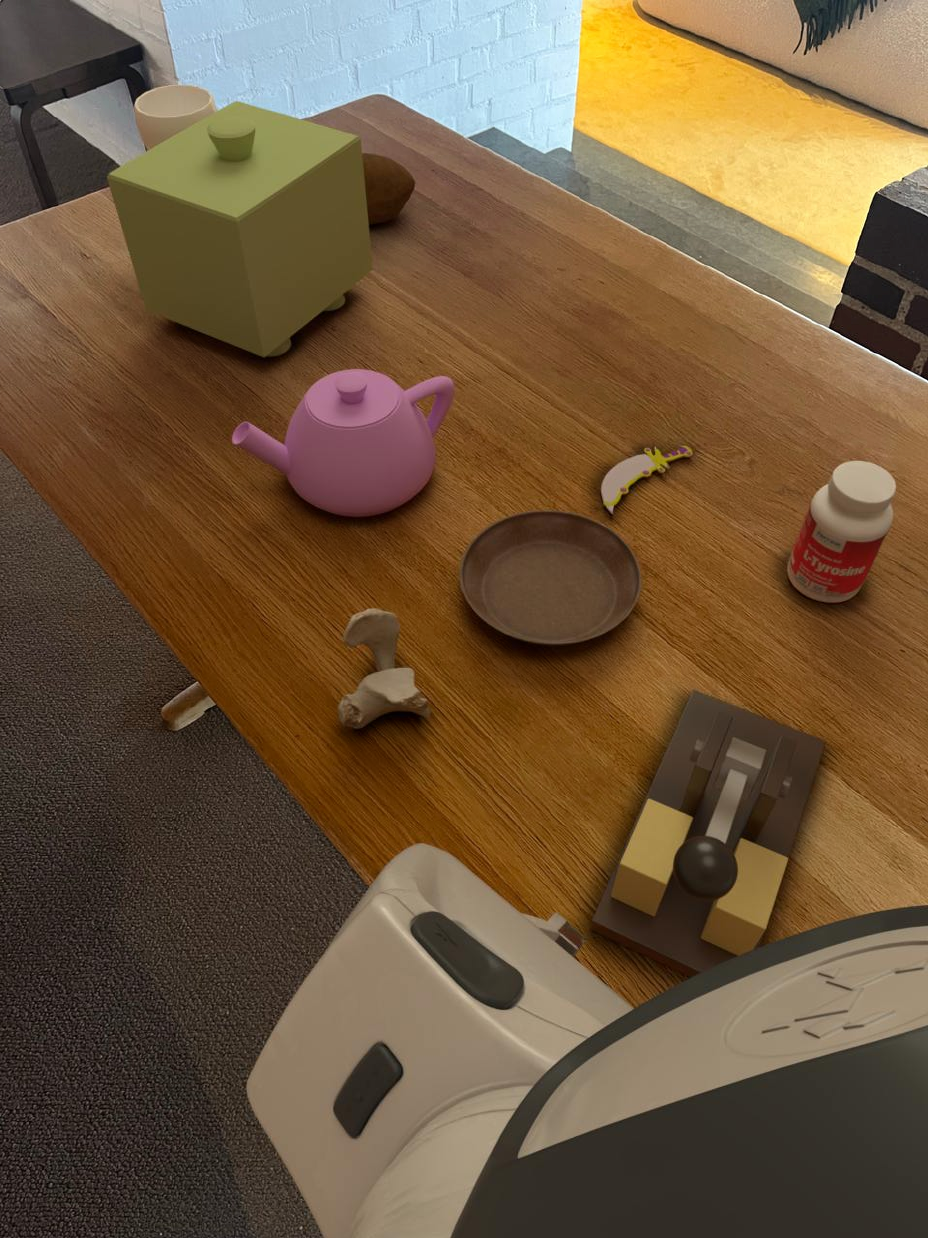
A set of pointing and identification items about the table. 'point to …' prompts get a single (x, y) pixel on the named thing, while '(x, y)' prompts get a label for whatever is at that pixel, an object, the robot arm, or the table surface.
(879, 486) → the pill bottle
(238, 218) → the container
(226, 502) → the table surface
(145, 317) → the table surface
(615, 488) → the decorative knife
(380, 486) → the teapot
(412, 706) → the bone
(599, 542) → the saucer
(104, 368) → the table surface
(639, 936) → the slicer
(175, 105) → the cup
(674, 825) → the butter
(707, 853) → the ball-knob lever switch
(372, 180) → the potato
